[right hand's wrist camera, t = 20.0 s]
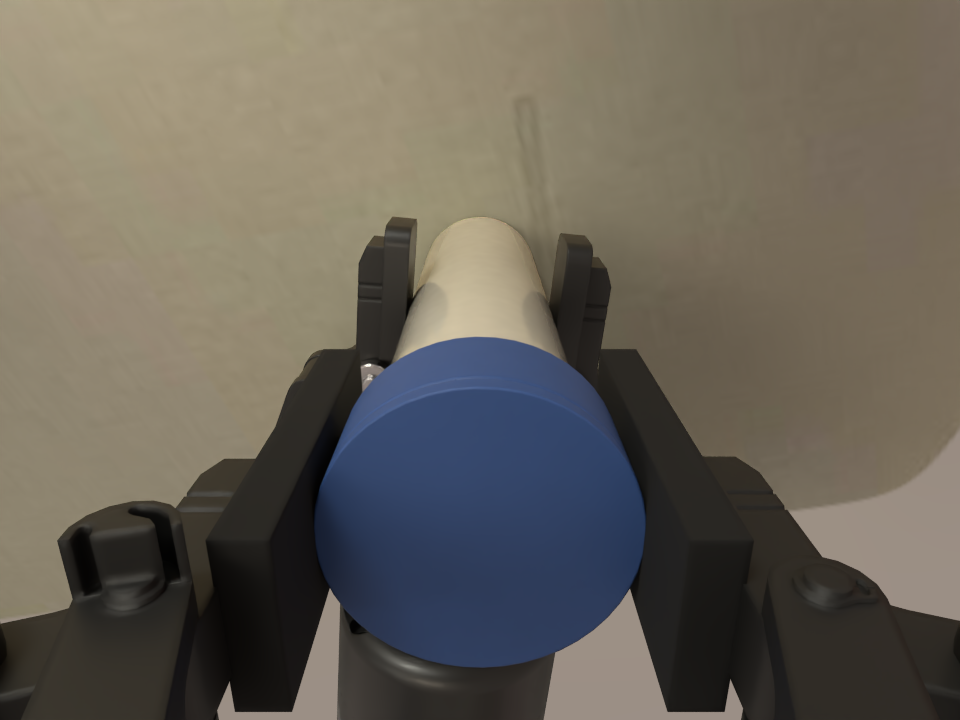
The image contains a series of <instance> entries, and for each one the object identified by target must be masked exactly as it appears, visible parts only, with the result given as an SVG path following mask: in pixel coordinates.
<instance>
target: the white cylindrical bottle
mask: <svg viewBox="0 0 960 720" xmlns="http://www.w3.org/2000/svg"><path fill="white" fill-rule="evenodd" d="M465 337H497V338H503V339H509V340H515V341H519V342H522V343H525V344H529V345H532V346H535V347H537V348H540V349H542V350H544V351H546V352H549V353H551V354H553V355H554V356H556V357H558V358H559V359H561V360H563V361H564V362H566V363H567V364H568V361H567V358H566V355H565V352H564V349H563V346H562V343H561V340H560V337H559V334H558V331H557V328H556V325H555V322H554V319H553V316H552V313H551V310H550V307H549V304H548V301H547V298H546V295H545V292H544V289H543V286H542V283H541V280H540V277H539V274H538V271H537V268H536V265H535V262H534V259H533V256H532V253H531V250H530V248H529V246H528V244H527V243H526V241H525V240H524V238H523V237H522V236H521V235H520V234H519V233H518V232H517V231H516V230H515V229H514V228H512V227H511V226H509V225H508V224H506V223H504V222H502V221H500V220H496V219H493V218H487V217H472V218H467V219H463V220H460V221H458V222H456V223H454V224H452V225H450V226H449V227H447V228H446V229H445V230H443V231H442V232H441V233H440V234H439V235H438V237H437V238H436V239H435V240H434V242H433V244H432V245H431V247H430V250H429V252H428V255H427V258H426V261H425V264H424V267H423V270H422V273H421V276H420V279H419V282H418V285H417V288H416V291H415V294H414V297H413V300H412V303H411V306H410V309H409V312H408V315H407V318H406V321H405V324H404V327H403V330H402V333H401V336H400V339H399V342H398V345H397V348H396V351H395V354H394V357H393V360H392V363H391V364H393V363H394V362H396V361H397V360H399V359H400V358H402V357H404V356H406V355H408V354H410V353H412V352H414V351H416V350H418V349H420V348H423V347H425V346H428V345H431V344H434V343H437V342H441V341H446V340H451V339H455V338H465Z"/></svg>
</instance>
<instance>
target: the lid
mask: <svg viewBox="0 0 960 720" xmlns="http://www.w3.org/2000/svg"><path fill="white" fill-rule="evenodd" d="M645 528H646V511H645V505H644V499H643V495H642V492H641V489H640V486H639V483H638V480H637V478H636V475H635V473H634V470H633V468H632V465H631V463H630V461H629V458H628V456H627V453H626V451H625V449H624V446H623V444H622V441H621V439H620V436H619V434H618V432H617V429H616V427H615V424H614V422H613V419H612V417H611V415H610V413H609V411H608V409H607V407H606V405H605V403H604V402H603V400H602V399H601V397H600V396H599V394H598V393H597V392H596V390H595V389H594V387H593V386H592V385H591V384H590V383H589V382H588V381H587V380H586V379H585V378H584V377H583V376H582V375H581V374H580V373H579V372H577V371H576V370H575V369H574V368H572V367H571V366H570V365H569V364H567V363H566V362H564V361H563V360H561V359H559V358H558V357H556V356H554V355H553V354H551V353H549V352H546V351H544V350H542V349H540V348H537V347H535V346H532V345H529V344H525V343H522V342H519V341H515V340H509V339H503V338H497V337H465V338H455V339H451V340H446V341H441V342H437V343H434V344H431V345H428V346H425V347H423V348H420V349H418V350H416V351H414V352H412V353H410V354H408V355H406V356H404V357H402V358H400V359H399V360H397V361H396V362H394V363H393V364H391V365H390V366H388V367H387V368H386V369H385V370H384V371H382V372H381V373H380V374H379V375H378V376H377V377H376V378H375V379H374V380H373V381H372V382H371V383H370V384H369V385H368V387H367V388H366V389H365V390H364V391H363V393H362V394H361V395H360V397H359V399H358V400H357V402H356V403H355V405H354V407H353V408H352V411H351V413H350V415H349V417H348V420H347V422H346V424H345V427H344V429H343V432H342V434H341V437H340V439H339V442H338V444H337V446H336V449H335V451H334V454H333V456H332V459H331V461H330V463H329V466H328V468H327V471H326V473H325V476H324V478H323V480H322V483H321V485H320V488H319V492H318V496H317V500H316V504H315V510H314V533H315V543H316V552H317V557H318V562H319V564H320V567H321V570H322V572H323V575H324V577H325V580H326V581H327V583H328V585H329V587H330V589H331V590H332V592H333V594H334V595H335V597H336V598H337V600H338V601H339V602H340V604H341V605H342V606H343V608H344V609H345V610H346V611H347V612H348V613H349V614H350V615H351V616H352V617H353V618H354V619H355V620H356V621H357V622H358V623H359V624H360V625H361V626H362V627H364V628H365V629H366V630H367V631H369V632H370V633H371V634H372V635H374V636H376V637H377V638H379V639H380V640H382V641H384V642H385V643H387V644H388V645H390V646H392V647H394V648H396V649H399V650H401V651H403V652H405V653H407V654H410V655H413V656H416V657H418V658H421V659H424V660H428V661H432V662H436V663H440V664H445V665H452V666H460V667H480V668H486V667H500V666H508V665H514V664H519V663H525V662H528V661H532V660H535V659H539V658H542V657H545V656H547V655H550V654H552V653H555V652H557V651H560V650H562V649H564V648H565V647H567V646H569V645H571V644H573V643H575V642H577V641H578V640H580V639H581V638H583V637H584V636H585V635H587V634H588V633H590V632H591V631H593V630H594V629H595V628H596V627H597V626H599V625H600V624H601V623H602V622H603V621H604V620H605V619H606V618H607V617H608V616H609V615H610V614H611V613H612V612H613V611H614V609H615V608H616V607H617V606H618V605H619V604H620V602H621V601H622V599H623V598H624V596H625V595H626V593H627V592H628V590H629V589H630V587H631V585H632V583H633V581H634V579H635V577H636V575H637V573H638V570H639V567H640V563H641V560H642V557H643V548H644V539H645Z"/></svg>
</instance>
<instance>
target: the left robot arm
mask: <svg viewBox="0 0 960 720" xmlns="http://www.w3.org/2000/svg"><path fill="white" fill-rule="evenodd" d="M416 238H417V219H411V218H400V217H392V218H391V220H390V221H389V222H388V224H387V225H386V229H385V236H384V237H383V236H374V237H373V238H372V240H371V241H370V242H369V243H368V245H367V246H366V249H365V251H364V253H363V255H362V257H361V260H360V262H359V274H358V306H357V339H356V345H355V346H353V347H352V348H349V349H360V361H361V376H362V391H364V390H365V389H366V388H367V387H368V385H369V384H370V383H371V382H372V381H373V380H374V379H375V378H376V377H377V376H378V375H379V374H380V373H381V372H382V371H384V370H385V369H386V368H387V367H388V366H390V365H391V363H392V360H393V357H394V354H395V351H396V348H397V345H398V342H399V339H400V336H401V333H402V330H403V327H404V324H405V321H406V318H407V315H408V312H409V309H410V306H411V303H412V300H413V288H414V271H415V255H416ZM610 291H611V285H610V280H609V276H608V272H607V268H606V267H605V266H604V264H603V263H602V262H601V260H600V259H599V258H598V257H593V249H592V245H591V243H590V242H589V241H588V239H587V238H586V237H585V236H582V235H572V234H562V233H561V234H560V236H559V240H558V246H557V253H556V260H555V267H554V275H553V282H552V289H551V296H550V304H549V307H550V310H551V313H552V316H553V319H554V322H555V325H556V328H557V331H558V334H559V337H560V340H561V343H562V346H563V349H564V352H565V355H566V358H567V361H568V364H569V365H570V366H571V367H572V368H574V369H575V370H576V371H577V372H579V373H580V374H581V375H582V376H583V377H584V378H585V379H586V380H587V381H588V382H589V383H590V384H591V385H592V386H593V387H594V389H595V390H596V392H597V385H598V369H597V368H598V361H599V355H600V349H601V344H602V338H603V332H604V326H605V320H606V314H607V306H608V303H609V297H610ZM322 351H323V350H319V351H317V352H315V353H313V354H312V355H311V356H310V358H309V359H308V361H307V362H306V364H305V366H304V369H303V371H302V373H301V374H300V376H299V377H298V378H296V379H295V381H294V382H293V384H292V385H291V387H290V388H289V390H288V393H287V395H286V398H285V401H284V404H283V407H282V410H281V413H280V415H279V418H278V421H277V424H278V422H279V420H280V419H281V417H282V416H283V414H284V412H285V411H286V409H287V407H288V406H289V404H290V403H291V401H292V399H293V398H294V396H295V395H296V393H297V391H298V390H299V388H300V386H301V385H302V383H303V382H304V380H305V378H306V377H307V375H308V373H309V372H310V370H311V369H312V367H313V365H314V364H315V362H316V361H317V359H318V357H319V356H320V354H321V352H322ZM277 424H276V425H277ZM554 656H555V653H552V654H550V655H547V656H545V657H542V658H539V659H535V660H532V661H528V662H525V663H519V664H514V665H508V666H500V667H486V668H480V667H460V666H452V665H445V664H440V663H436V662H432V661H428V660H424V659H421V658H418V657H416V656H413V655H410V654H407V653H405V652H403V651H401V650H399V649H396V648H394V647H392V646H390V645H388V644H387V643H385V642H384V641H382V640H380V639H379V638H377V637H376V636H374V635H372V634H371V633H370V632H369V631H367V630H366V629H365V628H364V627H362V626H361V625H360V624H359V623H358V622H357V621H356V620H355V619H354V618H353V617H352V616H351V615H350V614H349V613H348V612H347V611H346V610H345V609H344V608H343V606H342V605H341V604H340V634H339V673H338V705H337V720H543V719H544V714H545V708H546V702H547V696H548V691H549V685H550V679H551V673H552V668H553V662H554Z"/></svg>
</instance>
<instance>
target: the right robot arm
mask: <svg viewBox="0 0 960 720" xmlns="http://www.w3.org/2000/svg"><path fill="white" fill-rule="evenodd" d="M362 393H363V391H362V376H361V361H360V349H323V351H322V352H321V354H320V356H319V357H318V359H317V361H316V362H315V364H314V365H313V367H312V369H311V370H310V372H309V373H308V375H307V377H306V378H305V380H304V382H303V383H302V385H301V386H300V388H299V390H298V391H297V393H296V395H295V396H294V398H293V399H292V401H291V403H290V404H289V406H288V407H287V409H286V411H285V412H284V414H283V416H282V417H281V419H280V420H279V422H278V424H277V425H276V427H275V429H274V430H273V432H272V433H271V435H270V437H269V438H268V440H267V441H266V443H265V445H264V446H263V448H262V450H261V451H260V453H259V454H258V456H257V458H256V459H224V460H222V461H220V462H219V463H217V464H216V465H214V466H213V467H211V468H210V469H208V470H207V471H205V472H204V473H202V474H201V475H200V476H199V478H198V479H197V480H196V482H195V483H194V484H193V486H192V487H191V488H190V490H189V491H188V492H187V497H184V498H183V499H182V501H181V502H180V503H179V505H178V506H177V507H176V509H175V508H174V507H173V506H172V505H170V504H166V503H161V502H157V501H132V502H128V503H123V504H119V505H114V506H109V507H107V508H104V509H102V510H99V511H97V512H94V513H92V514H89V515H87V516H85V517H84V518H82V519H81V520H79V521H78V522H76V523H75V524H73V525H72V526H70V527H69V528H68V529H67V530H66V531H65V532H64V533H63V535H62V536H61V537H60V538H59V539H58V540H57V542H58V545H59V549H60V553H61V557H62V560H63V564H64V568H65V572H66V575H67V579H68V583H69V587H70V590H71V594H72V598H73V600H72V603H71V605H70V607H69V608H68V609H65V610H61V611H58V612H54V613H49V614H45V615H40V616H35V617H31V618H26V619H21V620H17V621H12V622H7V623H2V624H0V720H219V718H218V713H217V709H218V707H219V705H220V702H221V700H222V698H223V695H224V693H225V691H226V688H227V686H228V684H229V681H230V685H231V691H232V697H233V703H234V708H235V712H292V710H293V707H294V703H295V700H296V697H297V693H298V690H299V687H300V684H301V680H302V677H303V674H304V670H305V667H306V664H307V661H308V657H309V654H310V651H311V648H312V644H313V641H314V638H315V635H316V631H317V628H318V625H319V621H320V618H321V615H322V611H323V608H324V605H325V602H326V598H327V595H328V592H329V589H330V587H329V585H328V583H327V581H326V580H325V577H324V575H323V572H322V570H321V567H320V564H319V562H318V557H317V552H316V543H315V533H314V510H315V504H316V500H317V496H318V492H319V488H320V485H321V483H322V480H323V478H324V476H325V473H326V471H327V468H328V466H329V463H330V461H331V459H332V456H333V454H334V451H335V449H336V446H337V444H338V442H339V439H340V437H341V434H342V432H343V429H344V427H345V424H346V422H347V420H348V417H349V415H350V413H351V411H352V408H353V407H354V405H355V403H356V402H357V400H358V399H359V397H360V395H361V394H362ZM597 393H598V394H599V396H600V397H601V399H602V400H603V402H604V403H605V405H606V407H607V409H608V411H609V413H610V415H611V417H612V419H613V422H614V424H615V427H616V429H617V432H618V434H619V436H620V439H621V441H622V444H623V446H624V449H625V451H626V453H627V456H628V458H629V461H630V463H631V465H632V468H633V470H634V473H635V475H636V478H637V480H638V483H639V486H640V489H641V492H642V495H643V499H644V505H645V511H646V528H645V539H644V548H643V557H642V560H641V563H640V567H639V570H638V573H637V575H636V577H635V579H634V581H633V583H632V585H631V587H630V590H631V593H632V596H633V600H634V603H635V606H636V610H637V613H638V616H639V619H640V623H641V626H642V629H643V633H644V636H645V639H646V642H647V646H648V649H649V652H650V656H651V659H652V662H653V665H654V669H655V672H656V675H657V678H658V682H659V685H660V688H661V692H662V695H663V698H664V701H665V705H666V708H667V711H668V712H724V711H725V706H726V700H727V694H728V689H729V683H730V679H731V681H732V684H733V686H734V688H735V691H736V693H737V695H738V697H739V700H740V702H741V704H742V707H743V713H742V718H741V720H960V621H957V620H953V619H948V618H943V617H939V616H934V615H929V614H924V613H920V612H915V611H910V610H906V609H902V608H899V607H895V606H891V605H890V604H889V601H888V599H887V597H886V596H885V595H884V593H883V592H882V591H881V589H880V588H879V586H878V585H877V584H876V583H875V582H873V581H872V580H871V579H869V578H868V577H867V576H865V575H864V574H863V573H861V572H860V571H858V570H856V569H854V568H852V567H850V566H847V565H845V564H843V563H841V562H839V561H835V560H831V559H827V558H823V557H822V556H821V555H820V553H819V552H818V551H817V549H816V548H815V547H814V545H813V544H812V543H811V541H810V540H809V539H808V537H807V536H806V535H805V533H804V532H803V531H802V529H801V528H800V526H799V525H798V524H797V523H796V521H795V520H794V518H793V517H792V516H791V514H790V513H789V512H788V510H784V505H783V504H782V502H781V501H780V500H779V498H778V497H777V496H776V494H773V490H772V489H771V487H770V486H769V485H768V483H767V482H766V481H765V479H764V478H763V477H762V475H761V474H760V473H759V472H758V471H756V470H755V469H753V468H752V467H750V466H749V465H747V464H746V463H744V462H743V461H741V460H740V459H738V458H737V457H702V455H701V453H700V452H699V450H698V449H697V447H696V445H695V444H694V442H693V441H692V439H691V437H690V436H689V434H688V432H687V431H686V429H685V428H684V426H683V424H682V423H681V421H680V419H679V418H678V416H677V415H676V413H675V411H674V410H673V408H672V407H671V405H670V403H669V402H668V400H667V398H666V397H665V395H664V394H663V392H662V390H661V389H660V387H659V385H658V384H657V382H656V381H655V379H654V377H653V376H652V374H651V373H650V371H649V369H648V368H647V366H646V364H645V363H644V361H643V360H642V358H641V356H640V355H639V353H638V351H637V350H636V349H600V355H599V370H598V385H597Z"/></svg>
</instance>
